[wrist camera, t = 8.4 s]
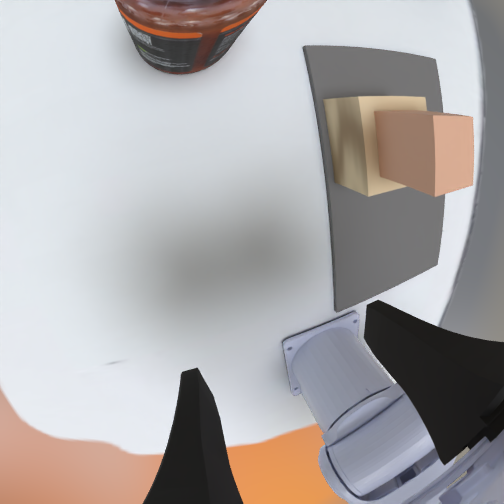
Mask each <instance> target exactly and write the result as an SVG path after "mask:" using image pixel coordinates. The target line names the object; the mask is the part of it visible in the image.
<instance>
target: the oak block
mask: <svg viewBox="0 0 504 504" xmlns="http://www.w3.org/2000/svg"><path fill="white" fill-rule="evenodd" d="M323 102H324V108H325V114H326V120H327V126H328V133H329V140H330V147H331V155H332V163H333V172H334V181H335V183H337V184H340V185H342V186H345V187H347V188H349V189H352V190H354V191H356V192H359V193H361V194H363V195H366V196H368V197H369V196H373V195H377V194H381V193H384V192H388V191H392V190H396V189H399V188H403V187H407V186H405V185H402V184H400V183H397V182H394V181H391V180H388V179H385V178H382V177H380V172H379V156H378V144H377V133H376V124H375V116H374V111H391V110H421V111H427V107H426V99H425V97H413V96H359V97H344V98H333V99H323Z"/></svg>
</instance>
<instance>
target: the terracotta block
mask: <svg viewBox="0 0 504 504" xmlns="http://www.w3.org/2000/svg"><path fill="white" fill-rule="evenodd" d="M374 116H375V124H376V133H377V144H378V156H379V172H380V177H382V178H385V179H388V180H391V181H394V182H397V183H400V184H402V185H405V186H408V187H410V188H413V189H416V190H418V191H421V192H423V193H426V194H428V195H431V196H433V197H436V196H440V195H443V194H446V193H449V192H453V191H456V190H459V189H462V188H465V187H469V186H472V185H473V172H474V132H473V117H470V116H464V115H457V114H450V113H441V112H432V111H421V110H391V111H374Z"/></svg>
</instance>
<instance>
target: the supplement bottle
mask: <svg viewBox="0 0 504 504" xmlns="http://www.w3.org/2000/svg"><path fill="white" fill-rule="evenodd" d="M266 1H267V0H115V2H116V4H117V7H118V9H119V12H120V14H121V16H122V18H123V20H124V23H125V25H126V27H127V29H128V31H129V33H130V35H131V38H132V40H133V42H134V44H135V46H136V49H137V50H138V52H139V54H140V55H141V57H142V58H143V59H144V60H145V61H146V62H147V63H148V64H149V65H151V66H152V67H154V68H156V69H158V70H161V71H163V72H167V73H172V74H186V73H192V72H197V71H200V70H203V69H205V68H207V67H209V66H211V65H213V64H214V63H215V62H217V61H218V60H219V59H220V58H221V57H222V56H223V55H224V54H225V53H226V52H227V51H228V50H229V48H230V47H231V46H232V44H233V43H234V42H235V40H236V39H237V37H238V36H239V35H240V34H241V32H242V31H243V30H244V28H245V27H246V26H247V24H248V23H249V22H250V21H251V19H252V18H253V17H254V16H255V15H256V14H257V12H258V11H259V10H260V8H261V7H262V6H263V5H264V3H265V2H266Z"/></svg>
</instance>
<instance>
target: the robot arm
mask: <svg viewBox="0 0 504 504" xmlns="http://www.w3.org/2000/svg"><path fill="white" fill-rule="evenodd" d="M358 328H359V314H358V313H357V312H352V313H350V314H348V315H346V316H343V317H341V318H339V319H336V320H334V321H332V322H329V323H327V324H324V325H322V326H319V327H317V328H314V329H312V330H309V331H307V332H304V333H302V334H299V335H297V336H294V337H291V338H289V339H286V340H285V341H284V342H283V349H284V354H285V360H286V365H287V370H288V376H289V381H290V387H291V392H292V394H293V395H294V396H296V395H299V394H301V393H302V395H303V397H304V398H305V400H306V402H307V404H308V406H309V408H310V410H311V412H312V414H313V416H314V417H315V419H316V421H317V423H318V425H319V427H320V429H321V430H322V431H323V432H324V434H323V435H322V438H323V440H324V442H325V445H323V446H322V447H321V448H320V451H319V456H318V462H319V466H320V469H321V472H322V474H323V476H324V478H325V480H326V481H327V483H328V484H329V486H330V487H331V488H332V490H333V491H334V492H335V493H336V494H337V495H338V496H339V497H341V498H342V499H345V500H346V501H347V502H348V503H349V504H504V342H496V341H488V340H483V339H478V338H473V337H468V336H464V335H461V334H458V333H454V332H451V331H448V330H445V329H443V328H440V327H437V326H435V325H432V324H430V323H427V322H425V321H423V320H421V319H418V318H416V317H414V316H412V315H410V314H408V313H405V312H403V311H401V310H399V309H397V308H395V307H393V306H391V305H389V304H387V303H384V302H382V301H380V300H377V301H374V302H372V303H370V304H368V305H367V309H366V321H365V332H364V339H365V341H366V343H367V344H368V346H369V347H370V349H371V351H372V352H373V354H374V355H375V357H376V358H377V359H378V360H379V362H380V363H381V364H382V365H383V366H384V368H385V369H386V370H387V371H388V372H389V374H390V375H391V376H392V377H393V378H394V379H395V381H396V382H397V383H396V384H394V383H393V381H392V380H391V379H390V378H389V377H388V375H387V374H386V373H385V372H384V370H383V369H382V368H381V367H380V365H379V364H378V363H377V362H376V361H375V359H374V358H373V357H372V356H371V354H370V353H369V352H368V351H367V350H366V348H365V347H364V346H363V345H362V344H361V342H360V341H359V340H358ZM288 347H289V348H288ZM467 446H468V448H469V449H470V451H469V452H468V453H467V454H465V455H464V456H463V457H462V458H461V459H460V460H459V461H457V462H456V463H455V464H454V461H455V459H456V456H457V455H458V454H459V453H460V452H461V451H463V450H464V449H465V448H466V447H467ZM453 464H454V465H453ZM466 470H467V474H466V475H465V476H464V477H462V478H461V479H459V480H458V481H457V482H455V483H454V484H453V485H451V486H450V487H449V488H448V489H447V486H449V485H450V484H451V483H452V482H454V481H455V480H456V479H457V478H458V477H459V476H461V475H462V474H463V473H464V472H465V471H466ZM143 504H243V501H242V499H241V496H240V494H239V491H238V488H237V486H236V483H235V480H234V477H233V474H232V471H231V468H230V465H229V460H228V455H227V450H226V445H225V440H224V435H223V430H222V425H221V420H220V416H219V413H218V409H217V406H216V403H215V400H214V396H213V394H212V393H211V391H210V389H209V387H208V386H207V384H206V382H205V380H204V378H203V377H202V375H201V373H200V371H199V369H198V368H195V369H191V370H187V371H184V372H182V374H181V379H180V387H179V394H178V400H177V406H176V410H175V415H174V420H173V425H172V428H171V432H170V436H169V440H168V444H167V447H166V450H165V453H164V456H163V459H162V462H161V465H160V467H159V470H158V472H157V475H156V477H155V480H154V482H153V484H152V486H151V489H150V491H149V493H148V495H147V497H146V499H145V500H144V502H143Z"/></svg>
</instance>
